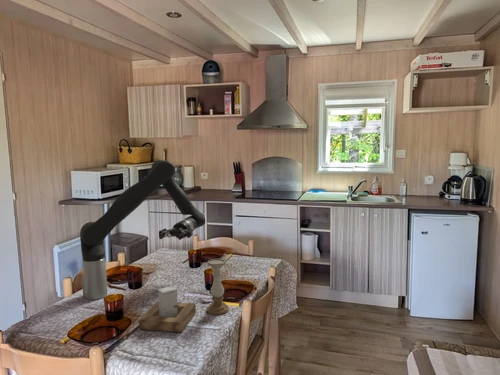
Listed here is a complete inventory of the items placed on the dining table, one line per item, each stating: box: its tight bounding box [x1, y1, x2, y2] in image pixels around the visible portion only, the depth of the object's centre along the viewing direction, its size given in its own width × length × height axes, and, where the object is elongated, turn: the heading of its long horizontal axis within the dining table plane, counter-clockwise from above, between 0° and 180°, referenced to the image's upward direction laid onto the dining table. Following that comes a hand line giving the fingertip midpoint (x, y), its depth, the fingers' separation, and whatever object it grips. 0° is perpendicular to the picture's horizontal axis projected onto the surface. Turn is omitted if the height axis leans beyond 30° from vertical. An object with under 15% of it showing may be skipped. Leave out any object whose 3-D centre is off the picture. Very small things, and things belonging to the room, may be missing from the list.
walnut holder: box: [138, 300, 197, 334], centre depth 140 cm, size 16×16×4 cm
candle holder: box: [206, 258, 230, 316], centre depth 148 cm, size 9×9×20 cm
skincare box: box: [158, 286, 178, 318], centre depth 140 cm, size 6×4×12 cm
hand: (169, 237), depth 156 cm, fingers open, 8 cm apart
